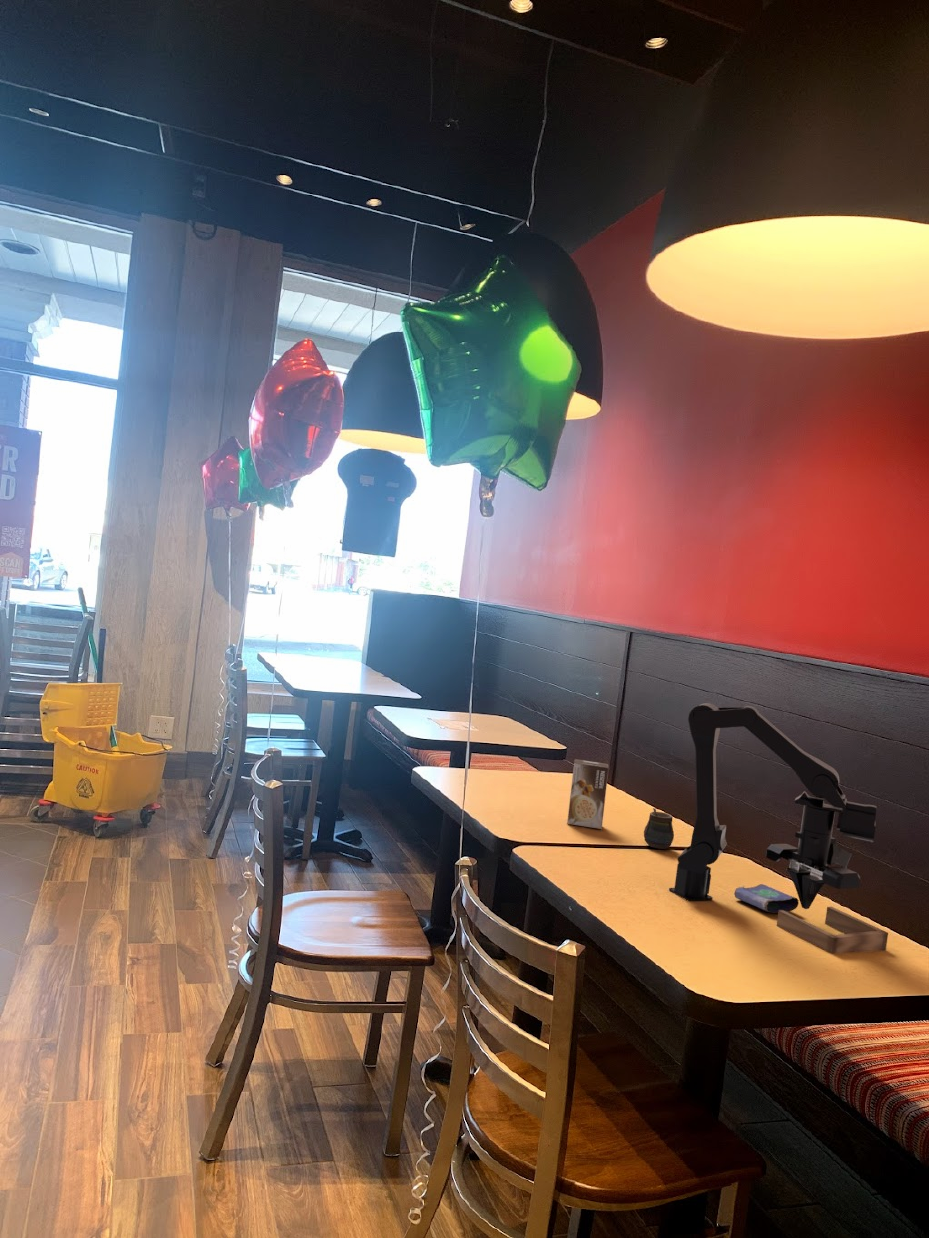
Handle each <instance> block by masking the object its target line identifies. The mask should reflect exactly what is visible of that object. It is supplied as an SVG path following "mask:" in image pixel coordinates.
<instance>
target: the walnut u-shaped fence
mask: <svg viewBox="0 0 929 1238" xmlns="http://www.w3.org/2000/svg"><path fill="white" fill-rule="evenodd" d="M825 913H826V914H825V921H824V925H826V926H827V927H831V928H833V929H834V930H837V931H839V932H841V933H840V934H833V933H830V932H828V931H826V930H824V929H822V928H820V927H817V926H816V925H815V924H814V925H813V924H812V923H810V922H808V921H806V920H804V919H801V918H800V917H798V916H796V915H793V914H792V913H790V912H786V911H784V910H779V911H778V913H777V919H776V927H778V928H780V929H782V930H784V931H785V932H788V933H790V934H792V935H794V936H796V937H798V938H800V939H801V940H803V941H805V942H807V943H810V944H812V945H814V946H815V947H817V948H820V949H821V950H823V951H825V952H828V954H831V955H832V954H851V953H865V952H867V953H868V952H882V951H886V950H887V944H888V939H889V938H888V937H889V932H887V931H885V930H883V929H881V928H879V927H877V926H874V925H872V924H870V923H867V922H865V921H864V920H861V919H859V918H858V917H855V916H853V915H851V914H848V913H846V912H844V911H843V910H839V909H838V908H835V907H833V906H827V908H826V912H825Z"/></svg>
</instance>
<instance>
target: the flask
mask: <svg viewBox="0 0 929 1238" xmlns="http://www.w3.org/2000/svg"><path fill="white" fill-rule="evenodd" d="M733 895H734V897H735V898H736V899H737V900H740V901H743V902H745V903H747V904H749V905H751V906H754V907H756V908H758V909H760V910H762V911H765V912H767V913H772V914H778V911H779V910H784V911H786V912H788V913H790V912H793V911H794V910H796V909H797V908H798V907H799V903H800V900H799V898H797V897H795V896H792V895H790V894H787V893H784V892H783V891H780V890H778V889H775V888H773V887H770V886H768V885H765V884H763V883H761V884H758V885H756V886H753V887H745V885H742V886H740V887H737V888H735V890H734V893H733Z"/></svg>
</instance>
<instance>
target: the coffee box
mask: <svg viewBox="0 0 929 1238" xmlns="http://www.w3.org/2000/svg"><path fill="white" fill-rule="evenodd" d="M609 767H610V766H609V764H608V763H603V762H598V761H591V760H590V761H589V760H586V759H577V758H575V759H574V761H573V768H572V769H573V770H572V779H571V786H570V796H569V803H568V804H569V805H568V810H567V811H568V814H567V823H566V824H567V825H574V826H581V827H587V828H593V829H599V830H600V829H601V830H602V829H603V823H604V821H603V820H604V812H605V804H606V803H605V802H606V795H607V794H606V793H607V784H608V776H609Z"/></svg>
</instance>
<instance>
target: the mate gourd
mask: <svg viewBox="0 0 929 1238" xmlns="http://www.w3.org/2000/svg"><path fill="white" fill-rule="evenodd" d="M652 809H653V810H652V811H651V812H649V817H648V818H649V819H648V821H647V823H646V825H645V827H644V831H643V837H644V842H645V844H647V845H648V846H649V847H651V848H654V849H660V850H661V849H662V850H663V849H664V850H665V849H667V850H668V848H670V847H671V845H672V843H673V841H674V838H675V837H674V835H675V834H674V828H673V819H674V818H673V815H671V814H669V813H668V812H667V813H666V812H662V811H657V810H656V808H653V807H652Z"/></svg>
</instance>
